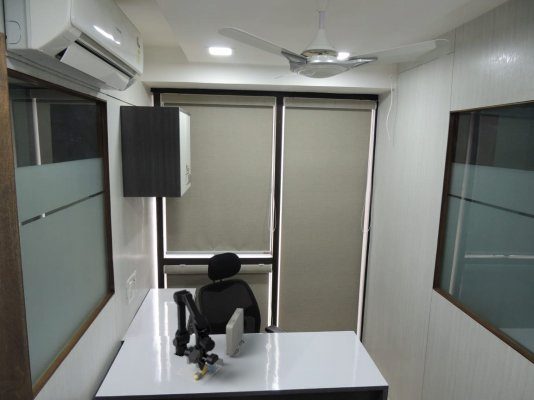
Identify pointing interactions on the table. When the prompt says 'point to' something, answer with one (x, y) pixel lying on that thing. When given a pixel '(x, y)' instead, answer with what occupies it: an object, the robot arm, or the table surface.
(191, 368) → the pipe mounting panel
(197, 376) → the yellow capsule with collar
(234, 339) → the network device
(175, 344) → the robot arm
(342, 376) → the table surface
